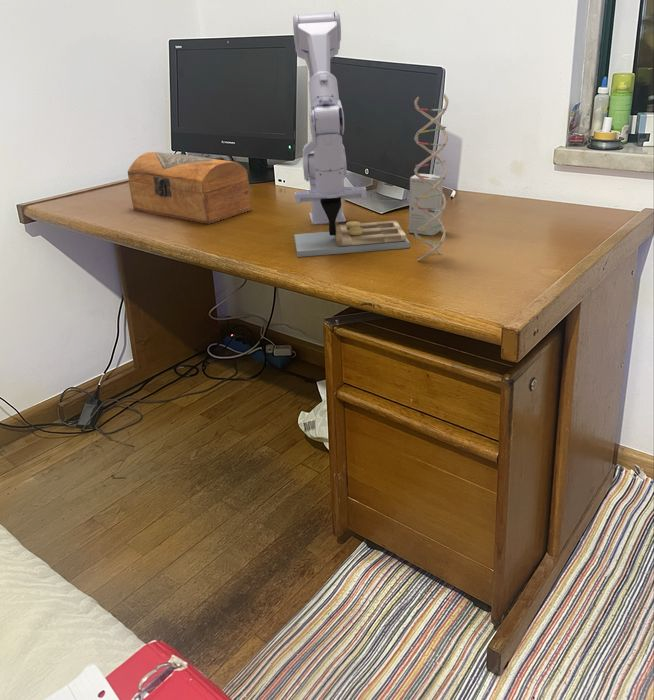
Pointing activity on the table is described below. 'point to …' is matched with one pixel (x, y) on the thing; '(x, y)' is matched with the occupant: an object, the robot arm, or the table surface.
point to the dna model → (433, 154)
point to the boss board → (328, 245)
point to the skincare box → (424, 204)
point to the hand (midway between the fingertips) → (332, 234)
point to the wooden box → (189, 187)
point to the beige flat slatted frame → (370, 233)
